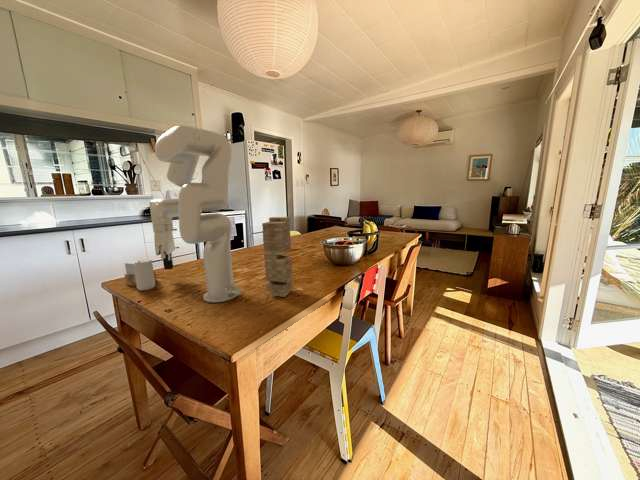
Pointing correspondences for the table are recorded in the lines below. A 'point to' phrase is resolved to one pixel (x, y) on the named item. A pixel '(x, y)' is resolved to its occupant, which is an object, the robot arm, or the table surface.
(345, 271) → the table surface
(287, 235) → the block tower
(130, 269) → the pale gray block
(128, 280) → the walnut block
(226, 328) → the table surface
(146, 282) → the beverage can
